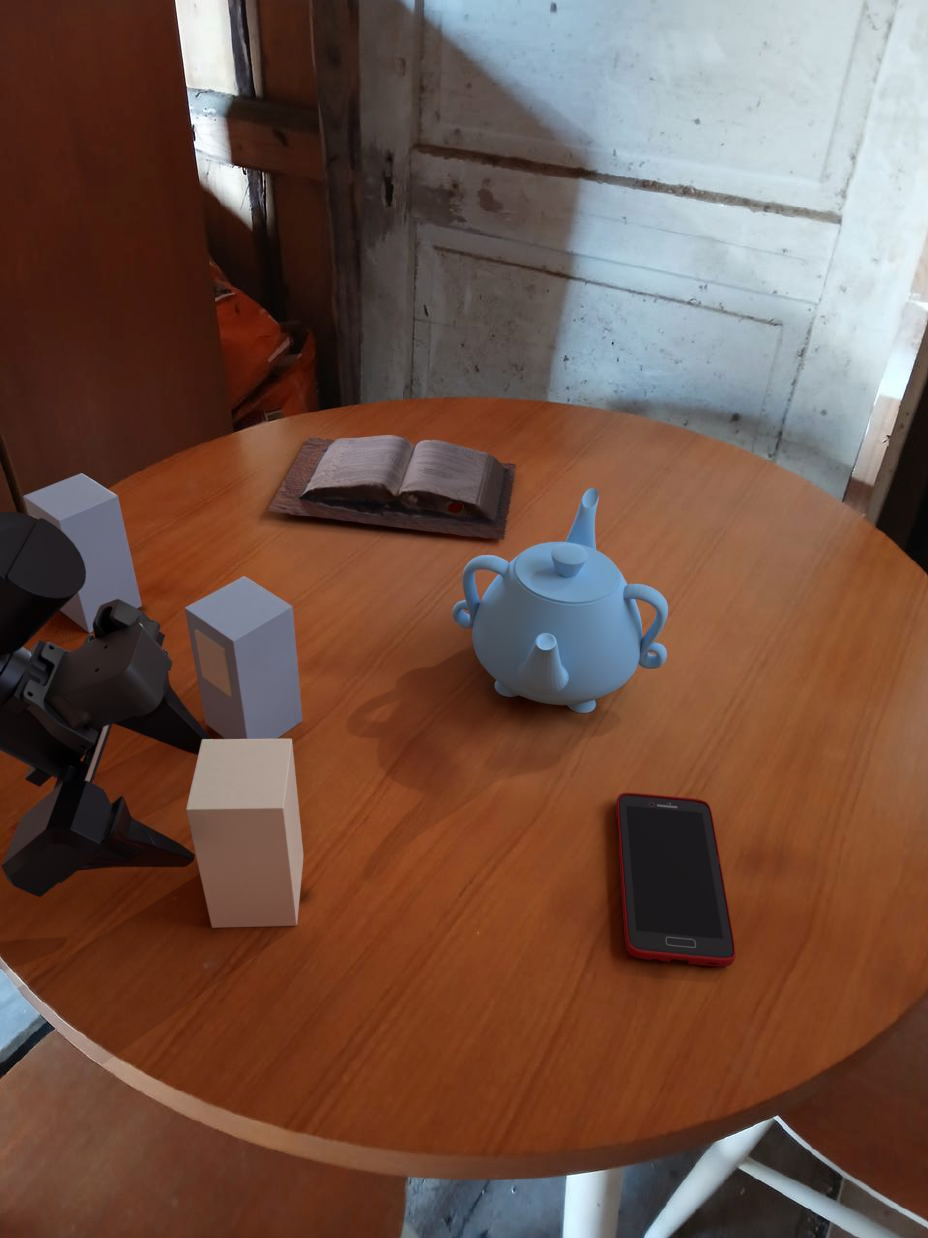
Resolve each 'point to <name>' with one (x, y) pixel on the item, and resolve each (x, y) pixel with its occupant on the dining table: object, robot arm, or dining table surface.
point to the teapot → (561, 620)
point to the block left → (90, 542)
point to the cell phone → (672, 881)
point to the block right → (246, 661)
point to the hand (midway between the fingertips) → (203, 804)
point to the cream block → (247, 831)
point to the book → (399, 485)
